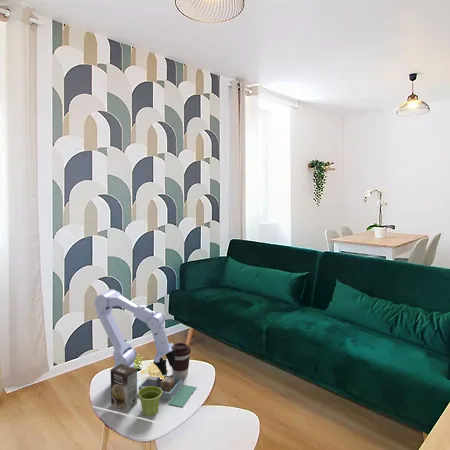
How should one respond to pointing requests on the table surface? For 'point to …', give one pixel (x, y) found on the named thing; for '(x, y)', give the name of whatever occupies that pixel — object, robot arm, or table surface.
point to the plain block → (153, 381)
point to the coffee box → (123, 387)
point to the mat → (182, 396)
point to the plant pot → (150, 399)
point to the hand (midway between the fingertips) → (168, 370)
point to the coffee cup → (181, 360)
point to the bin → (164, 394)
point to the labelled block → (167, 384)
